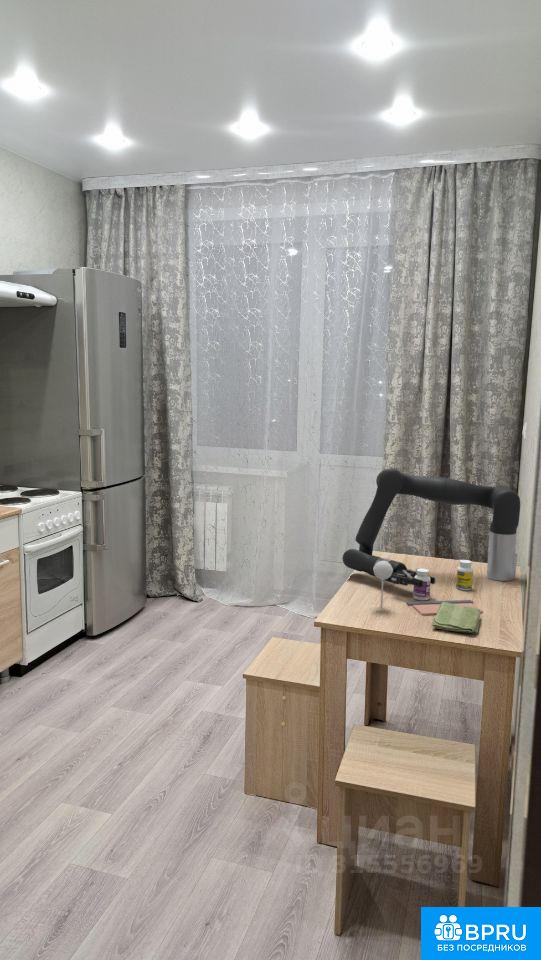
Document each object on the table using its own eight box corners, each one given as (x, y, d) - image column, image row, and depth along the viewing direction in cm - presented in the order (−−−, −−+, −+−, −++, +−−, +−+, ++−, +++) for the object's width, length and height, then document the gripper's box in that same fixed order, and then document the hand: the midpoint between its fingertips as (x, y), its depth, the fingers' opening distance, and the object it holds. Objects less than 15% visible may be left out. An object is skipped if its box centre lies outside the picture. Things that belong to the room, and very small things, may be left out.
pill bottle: (429, 601, 224) (431, 572, 223) (413, 600, 225) (414, 571, 224) (429, 596, 230) (430, 568, 228) (413, 595, 231) (414, 567, 229)
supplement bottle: (454, 589, 238) (456, 562, 236) (456, 585, 243) (458, 558, 241) (471, 591, 236) (472, 563, 234) (472, 587, 241) (474, 560, 239)
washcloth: (430, 629, 199) (431, 619, 198) (439, 609, 215) (440, 599, 214) (477, 637, 194) (478, 626, 193) (482, 616, 210) (483, 606, 209)
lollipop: (392, 605, 220) (394, 559, 218) (389, 611, 214) (391, 564, 212) (373, 602, 222) (375, 557, 220) (370, 608, 216) (371, 562, 214)
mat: (470, 601, 225) (470, 599, 225) (485, 613, 214) (486, 611, 214) (406, 603, 222) (406, 602, 221) (418, 615, 211) (418, 613, 211)
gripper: (375, 563, 233) (414, 575, 220) (404, 557, 242) (443, 568, 228) (375, 584, 234) (413, 597, 221) (403, 577, 243) (441, 589, 229)
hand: (428, 582), depth 225 cm, fingers closed on pill bottle, 5 cm apart
